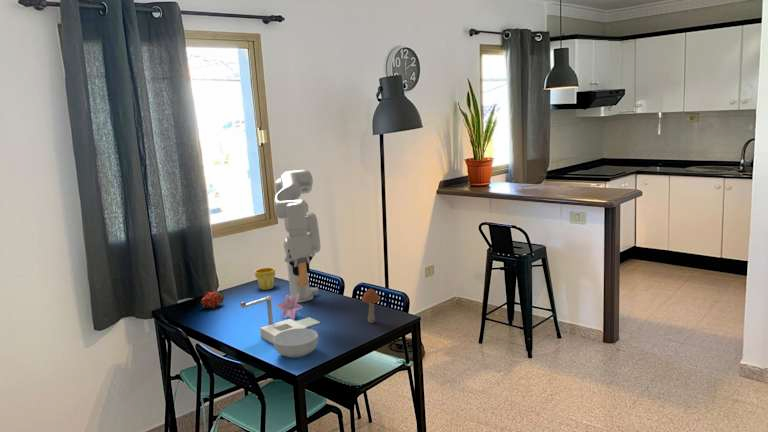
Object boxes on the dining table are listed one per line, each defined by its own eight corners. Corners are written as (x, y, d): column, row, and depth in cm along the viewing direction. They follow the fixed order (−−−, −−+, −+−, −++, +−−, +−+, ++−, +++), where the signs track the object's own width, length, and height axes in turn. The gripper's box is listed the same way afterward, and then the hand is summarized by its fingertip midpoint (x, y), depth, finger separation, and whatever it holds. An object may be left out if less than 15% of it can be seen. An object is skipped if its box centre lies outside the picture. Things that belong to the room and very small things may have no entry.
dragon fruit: (227, 307, 289) (203, 316, 284) (220, 294, 294) (197, 303, 288) (226, 297, 283) (202, 306, 278) (220, 284, 288) (195, 293, 282)
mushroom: (384, 319, 256) (382, 285, 253) (378, 326, 248) (375, 291, 245) (367, 318, 258) (364, 285, 255) (360, 324, 251) (358, 290, 248)
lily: (276, 316, 271) (270, 302, 264) (296, 301, 276) (291, 287, 270) (291, 329, 263) (286, 315, 257) (311, 313, 269) (307, 299, 263)
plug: (304, 282, 256) (302, 255, 254) (310, 284, 252) (307, 256, 250) (295, 284, 253) (292, 257, 251) (300, 286, 250) (298, 259, 247)
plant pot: (253, 291, 308) (251, 273, 306) (260, 285, 318) (259, 267, 316) (272, 290, 306) (270, 272, 305) (279, 284, 316) (277, 267, 315)
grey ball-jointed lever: (269, 297, 251) (268, 292, 251) (273, 299, 249) (272, 294, 249) (239, 307, 241) (239, 302, 241) (243, 308, 239) (243, 303, 239)
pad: (309, 318, 262) (309, 317, 262) (320, 323, 255) (320, 322, 255) (291, 323, 257) (291, 322, 257) (302, 329, 250) (302, 327, 250)
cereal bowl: (280, 367, 214) (278, 348, 213) (270, 350, 230) (268, 333, 228) (325, 356, 221) (323, 338, 220) (312, 341, 236) (310, 324, 235)
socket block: (284, 324, 257) (281, 295, 255) (307, 336, 242) (305, 305, 239) (254, 333, 249) (251, 303, 246) (277, 346, 233) (274, 314, 231)
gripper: (310, 227, 257) (313, 268, 260) (275, 234, 246) (279, 276, 250) (319, 229, 251) (323, 271, 254) (284, 236, 241) (288, 280, 244)
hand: (301, 273), depth 252 cm, fingers closed on plug, 4 cm apart
